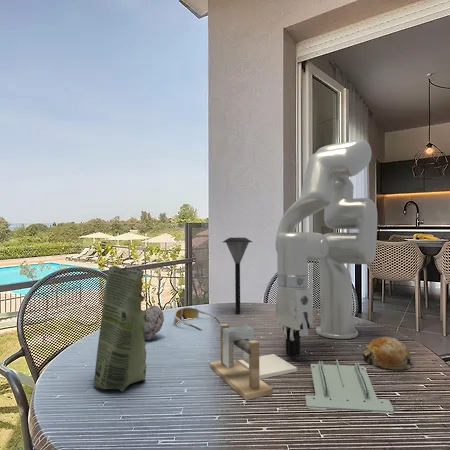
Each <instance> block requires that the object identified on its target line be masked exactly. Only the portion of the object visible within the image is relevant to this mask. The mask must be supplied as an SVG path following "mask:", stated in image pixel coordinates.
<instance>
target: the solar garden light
mask: <svg viewBox="0 0 450 450" xmlns="http://www.w3.org/2000/svg"><path fill="white" fill-rule="evenodd" d="M222 243H225V244H226V246H227V248H228V250H229V252H230V256H231V257H232V259H233V262H234V267H235V268H234V269H235V271H234V273H235V274H234V275H235V276H234V277H235V279H234V280H235V281H234V282H235V283H234V284H235V285H234V286H235V288H234V289H235V291H234V292H235V294H234V295H235V315H236V314H239V315H241V262H242V260H243V257H244V255H245V253H246V250H247V248H248V246H249V244H250V243H253V241H252V240H250V239H249V238H246V237H228V238H227V239H225V240H223V241H222Z"/></svg>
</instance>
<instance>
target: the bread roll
mask: <svg viewBox="0 0 450 450" xmlns="http://www.w3.org/2000/svg"><path fill="white" fill-rule="evenodd" d="M362 356H363V359H365V360H366V361H367V363H369V364H370V365H372V366H374V367H377V368H381V369H384V370H391V371H392V370H393V371H403V370H410V369H411V365H410V363H411V360H412V359H411V353H410V351H409V349H408V347H407V346H406V345H405V344H404V343H403V342H402V341H400V340H398V339H397V338H395V337H391V336H390V337H389V336H382V337H378V338H377V337H376V338H374V339H372V340H371V341H370V342H369V343H368V344H367V345H365V347H364V352H363V354H362Z"/></svg>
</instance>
